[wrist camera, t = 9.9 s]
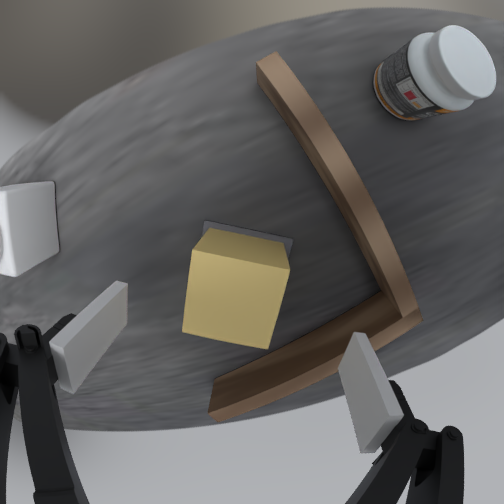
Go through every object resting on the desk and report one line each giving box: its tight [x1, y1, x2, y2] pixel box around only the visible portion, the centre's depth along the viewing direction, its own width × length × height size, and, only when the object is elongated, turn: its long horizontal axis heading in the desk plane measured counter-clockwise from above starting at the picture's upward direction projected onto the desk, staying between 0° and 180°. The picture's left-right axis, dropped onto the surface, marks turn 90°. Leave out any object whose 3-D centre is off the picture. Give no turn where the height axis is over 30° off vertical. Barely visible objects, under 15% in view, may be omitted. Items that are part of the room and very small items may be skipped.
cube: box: [182, 228, 290, 349], centre depth 21 cm, size 6×6×6 cm
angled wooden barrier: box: [208, 51, 423, 422], centre depth 22 cm, size 22×20×5 cm
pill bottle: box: [373, 25, 496, 120], centre depth 15 cm, size 6×6×10 cm
